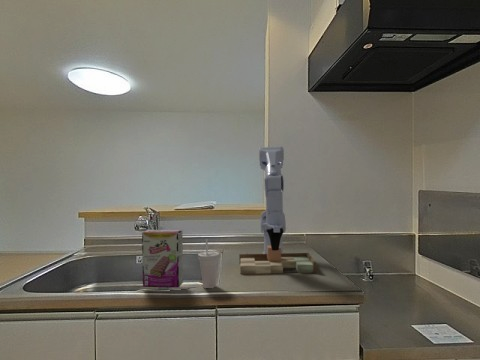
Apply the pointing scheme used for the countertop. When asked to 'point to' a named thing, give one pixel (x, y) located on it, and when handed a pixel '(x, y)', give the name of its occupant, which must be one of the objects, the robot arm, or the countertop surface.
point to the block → (273, 254)
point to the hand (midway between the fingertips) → (275, 250)
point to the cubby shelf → (277, 263)
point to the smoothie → (208, 267)
